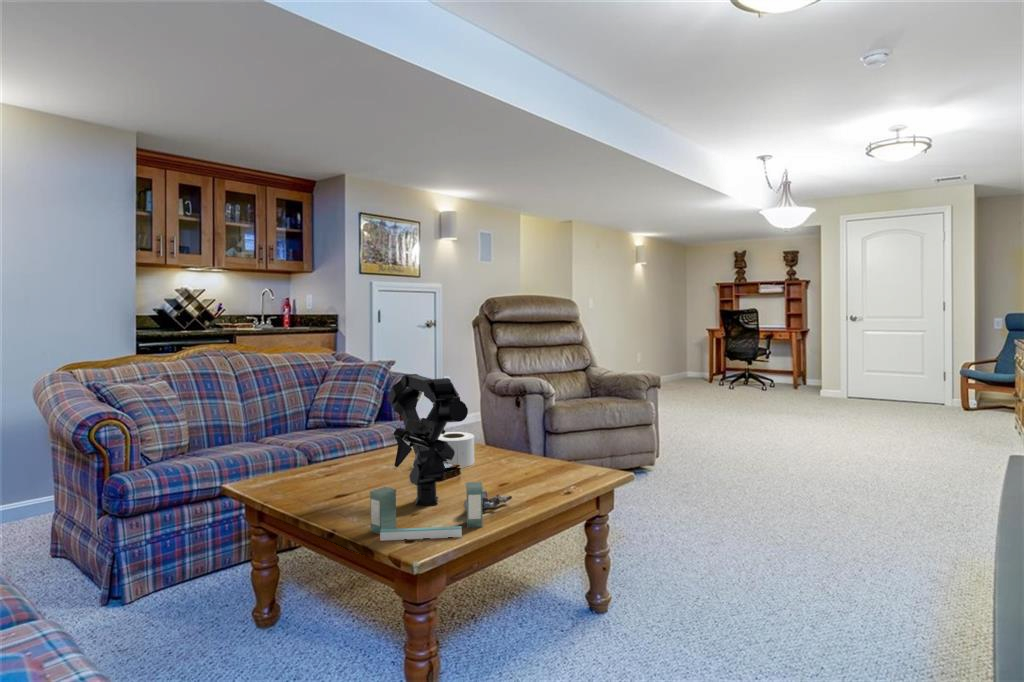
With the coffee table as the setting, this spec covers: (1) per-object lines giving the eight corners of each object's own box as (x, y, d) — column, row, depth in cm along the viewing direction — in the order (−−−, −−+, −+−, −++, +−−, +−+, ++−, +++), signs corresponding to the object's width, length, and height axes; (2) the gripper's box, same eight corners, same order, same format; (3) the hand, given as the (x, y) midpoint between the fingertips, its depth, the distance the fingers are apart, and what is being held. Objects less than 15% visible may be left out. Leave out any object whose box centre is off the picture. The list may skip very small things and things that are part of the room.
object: (472, 469, 210) (472, 439, 210) (429, 469, 211) (429, 439, 210) (476, 458, 226) (475, 431, 225) (436, 458, 226) (436, 431, 226)
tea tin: (385, 525, 153) (385, 486, 152) (396, 529, 150) (396, 489, 150) (370, 531, 149) (369, 491, 148) (381, 535, 146) (380, 494, 146)
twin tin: (466, 521, 156) (466, 482, 156) (481, 520, 157) (481, 482, 156) (466, 528, 151) (466, 488, 151) (482, 527, 151) (482, 487, 151)
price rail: (380, 538, 144) (380, 529, 144) (461, 535, 146) (461, 526, 146) (380, 540, 143) (380, 531, 142) (461, 537, 145) (461, 528, 144)
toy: (515, 499, 169) (488, 506, 156) (487, 516, 173) (459, 524, 160) (505, 478, 172) (477, 483, 159) (477, 495, 176) (448, 501, 163)
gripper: (397, 399, 161) (367, 448, 155) (448, 413, 151) (418, 466, 144) (417, 419, 169) (389, 467, 162) (466, 434, 159) (439, 485, 152)
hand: (407, 471), depth 155 cm, fingers open, 9 cm apart
